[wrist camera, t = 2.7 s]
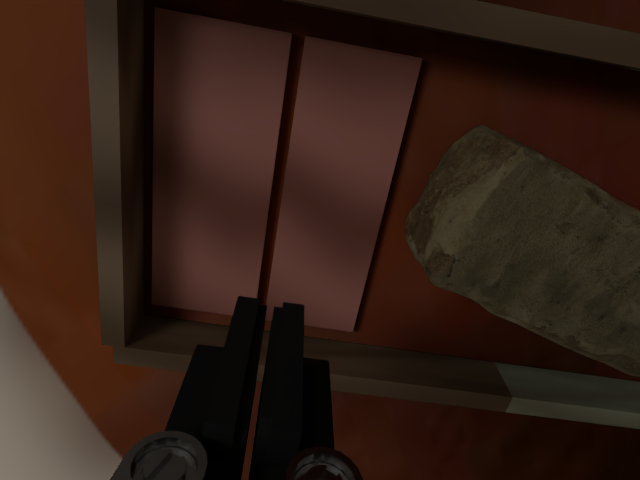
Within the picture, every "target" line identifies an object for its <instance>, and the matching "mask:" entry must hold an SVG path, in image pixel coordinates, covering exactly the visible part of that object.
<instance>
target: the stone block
mask: <svg viewBox="0 0 640 480" xmlns="http://www.w3.org/2000/svg"><path fill="white" fill-rule="evenodd" d="M405 233H406V240H407V243H408V246H409V248H410V249H411V251H412V252H413V255H414V257H415V259H416V260H417V261H418V262H419V263H420V264H421V265H422V266H423V268H424V270H425V272H426V274H427V276H428V278H429V279H430V281H431V283H432V284H433V285H435V286H437V287H440V288H443V289H445V290H448V291H451V292H454V293H457V294H460V295H462V296H465V297H467V298H470V299H472V300H473V301H475V302H477V303H478V304H480V305H481V306H482V307H484V308H485V309H486V310H487V311H489V312H490V313H492V314H494V315H497V316H499V317H501V318H504V319H506V320H509V321H511V322H513V323H516V324H518V325H520V326H522V327H524V328H526V329H528V330H530V331H532V332H534V333H536V334H538V335H540V336H542V337H545V338H547V339H549V340H551V341H553V342H555V343H557V344H559V345H562V346H564V347H566V348H568V349H570V350H573V351H575V352H577V353H579V354H582V355H584V356H586V357H589V358H591V359H594V360H597V361H600V362H602V363H605V364H607V365H609V366H611V367H613V368H615V369H617V370H619V371H621V372H623V373H625V374H628V375H631V376H635V377H640V211H639V210H638V209H636V208H634V207H631V206H629V205H627V204H625V203H623V202H621V201H620V200H618V199H616V198H614V197H612V196H611V195H610V194H608V193H607V192H605V191H604V190H602V189H601V188H599V187H598V186H596V185H595V184H593V183H591V182H590V181H588V180H586V179H584V178H582V177H581V176H579V175H577V174H576V173H574V172H572V171H571V170H569V169H567V168H565V167H564V166H562V165H560V164H558V163H557V162H555V161H553V160H551V159H549V158H548V157H546V156H545V155H543V154H541V153H539V152H537V151H536V150H534V149H532V148H530V147H528V146H526V145H524V144H522V143H520V142H518V141H516V140H514V139H512V138H509V137H507V136H505V135H503V134H501V133H499V132H497V131H495V130H493V129H490V128H488V127H486V126H483V125H480V126H477V127H476V128H474V129H472V130H470V131H469V132H467V133H466V134H465V135H464V136H463V137H461V138H460V139H458V140H457V141H456V142H454V143H453V145H452V146H451V147H450V149H449V150H447V152H446V153H445V154H444V156H443V157H442V159H441V161H440V163H439V165H438V166H437V168H436V170H435V171H433V172H432V173H431V175H430V177H429V179H428V182H427V184H426V187H425V190H424V192H423V193H422V195H421V197H420V199H419V201H418V203H417V204H416V205H415V206H414V207H413V208H412V209H411V211H410V213H409V215H408V217H407V219H406V221H405Z"/></svg>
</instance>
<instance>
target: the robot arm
mask: <svg viewBox="0 0 640 480" xmlns="http://www.w3.org/2000/svg"><path fill="white" fill-rule="evenodd" d="M259 302H260V299H258V298H251V297H243V296H238V298H237V302H236V305H235V309H234V313H233V316H232V320H231V323H230V327H229V331H228V334H227V338H226V341H225V345H224V347H217V346H209V345H201V344H198V345H197V346H196V348H195V350H194V353H193V356H192V358H191V361H190V364H189V366H188V369H187V372H186V375H185V377H184V380H183V383H182V385H181V388H180V391H179V394H178V396H177V399H176V402H175V404H174V407H173V410H172V413H171V415H170V418H169V421H168V423H167V426H166V429H165V431H163V432H157V433H154V434H152V435H149V436H147V437H145V438H143V439H142V440H140V441H139V442H137V443H136V444H135V445H134V446H133V447H132V448H131V449H130V450H129V451H128V453H127V454H126V455H125V457H124V458H123V460H122V461H121V463H120V465H119V466H118V468H117V470H116V471H115V473H114V474H113V476H112V477H111V479H110V480H241V476H242V470H243V463H244V457H245V450H246V444H247V438H248V431H249V425H250V419H251V412H252V406H253V399H254V393H255V386H256V379H257V372H258V366H259V359H260V352H261V345H262V338H263V332H264V325H265V318H266V311H267V305H260V304H259ZM304 308H305V307H304V305H302V304H295V303H288V302H283V306H282V307H274V311H273V317H272V323H271V330H270V336H269V343H268V349H267V356H266V362H265V369H264V375H263V382H262V388H261V395H260V402H259V409H258V416H257V423H256V431H255V438H254V445H253V452H252V459H251V467H250V474H249V480H363V478H362V476H361V474H360V471H359V469H358V467H357V466H356V465H355V464H354V463H353V461H352V460H351V459H350V458H349V457H347V456H346V455H344V454H343V453H342V452H340V451H337V450H335V449H334V436H333V419H332V401H331V384H330V367H329V361H328V360H321V359H313V358H305V357H303V355H304Z"/></svg>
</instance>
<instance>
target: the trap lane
mask: <svg viewBox="0 0 640 480" xmlns="http://www.w3.org/2000/svg"><path fill="white" fill-rule="evenodd" d="M281 1H286V2H291V3H296V4H301V5H306V6H311V7H316V8H321V9H326V10H331V11H337V12H342V13H347V14H352V15H357V16H362V17H367V18H372V19H377V20H382V21H387V22H392V23H398V24H403V25H408V26H413V27H418V28H423V29H428V30H433V31H438V32H443V33H448V34H453V35H458V36H464V37H469V38H474V39H479V40H484V41H489V42H494V43H499V44H504V45H509V46H514V47H519V48H525V49H530V50H535V51H540V52H545V53H550V54H555V55H560V56H565V57H570V58H575V59H580V60H585V61H591V62H596V63H601V64H606V65H611V66H616V67H621V68H626V69H631V70H636V71H640V34H639V33H634V32H629V31H624V30H619V29H615V28H610V27H605V26H600V25H595V24H590V23H585V22H580V21H575V20H571V19H566V18H561V17H556V16H551V15H546V14H541V13H536V12H531V11H527V10H522V9H517V8H512V7H507V6H502V5H497V4H492V3H487V2H482V1H478V0H281ZM85 18H86V38H87V58H88V78H89V98H90V117H91V137H92V157H93V177H94V197H95V217H96V237H97V257H98V277H99V296H100V316H101V336H102V345H110V346H113V352H114V363H118V364H126V365H134V366H142V367H150V368H158V369H166V370H174V371H182V372H187V369H188V366H189V364H190V361H191V358H192V356H193V353H194V350H195V348H196V346H197V345H198V344H201V345H209V346H217V347H224V345H225V341H226V338H227V334H228V331H229V327H230V326H223V325H215V324H208V323H200V322H193V321H186V320H178V319H171V318H163V317H156V316H149V315H144V0H85ZM291 40H292V33H289V32H284V31H279V30H274V29H268V28H263V27H258V26H253V25H247V24H242V23H237V22H232V21H226V20H221V19H216V18H211V17H206V16H200V15H195V14H190V13H185V12H179V11H174V10H169V9H164V8H158V7H155V17H154V113H153V210H152V305H160V306H167V307H174V308H182V309H189V310H196V311H203V312H211V313H218V314H225V315H233V313H234V309H235V305H236V302H237V298H238V296H243V297H251V298H257V295H258V288H259V280H260V273H261V265H262V258H263V250H264V243H265V235H266V228H267V220H268V213H269V205H270V198H271V190H272V183H273V175H274V168H275V160H276V153H277V145H278V138H279V130H280V123H281V115H282V108H283V100H284V93H285V85H286V78H287V70H288V63H289V55H290V48H291ZM422 59H423V58H420V57H415V56H409V55H404V54H399V53H394V52H389V51H383V50H378V49H373V48H368V47H362V46H357V45H352V44H347V43H341V42H336V41H331V40H326V39H321V38H315V37H310V36H305V41H304V48H303V55H302V62H301V69H300V76H299V83H298V90H297V97H296V103H295V110H294V117H293V124H292V131H291V138H290V145H289V152H288V159H287V165H286V172H285V179H284V186H283V193H282V200H281V207H280V214H279V221H278V227H277V234H276V241H275V248H274V255H273V262H272V269H271V276H270V283H269V289H268V296H267V303H266V305H267V311H266V318H265V320H269V321H272V317H273V311H274V307H282V306H283V302H288V303H295V304H302V305H304V307H305V308H304V325H306V326H313V327H320V328H327V329H335V330H342V331H349V332H353V329H354V325H355V321H356V318H357V314H358V310H359V306H360V302H361V298H362V294H363V290H364V286H365V282H366V278H367V274H368V271H369V267H370V263H371V259H372V255H373V251H374V247H375V243H376V239H377V235H378V231H379V227H380V223H381V220H382V216H383V212H384V208H385V204H386V200H387V196H388V192H389V188H390V184H391V180H392V176H393V173H394V169H395V165H396V161H397V157H398V153H399V149H400V145H401V141H402V137H403V133H404V129H405V125H406V122H407V118H408V114H409V110H410V106H411V102H412V98H413V94H414V90H415V86H416V82H417V78H418V75H419V71H420V67H421V63H422ZM269 336H270V332H267V331H264V332H263V338H262V345H261V352H260V359H259V366H258V372H257V379H256V381H262V382H263V375H264V369H265V362H266V356H267V349H268V343H269ZM303 357H305V358H313V359H321V360H328V361H329V367H330V384H331V390H333V391H341V392H349V393H357V394H365V395H373V396H381V397H389V398H397V399H405V400H413V401H421V402H429V403H437V404H445V405H453V406H460V407H468V408H476V409H484V410H492V411H500V412H508V413H516V414H524V415H532V416H540V417H548V418H556V419H564V420H572V421H580V422H588V423H596V424H604V425H612V426H620V427H628V428H636V429H640V382H637V381H630V380H622V379H615V378H608V377H600V376H593V375H585V374H578V373H571V372H563V371H556V370H548V369H541V368H534V367H526V366H519V365H511V364H504V363H497V362H489V361H482V360H474V359H467V358H460V357H452V356H445V355H437V354H430V353H423V352H415V351H408V350H400V349H393V348H386V347H378V346H371V345H363V344H356V343H349V342H341V341H334V340H326V339H319V338H311V337H304V355H303Z"/></svg>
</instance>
